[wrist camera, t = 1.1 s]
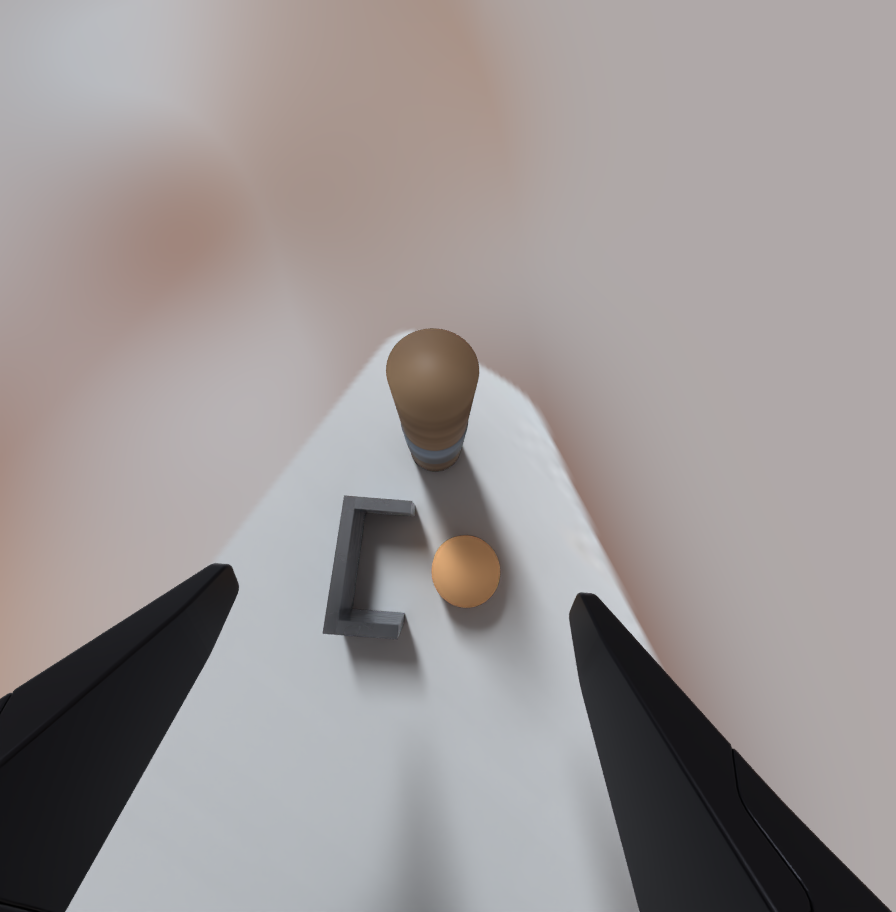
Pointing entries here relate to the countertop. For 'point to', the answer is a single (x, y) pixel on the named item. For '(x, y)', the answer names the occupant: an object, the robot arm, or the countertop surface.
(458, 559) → the tan rounded block
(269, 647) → the countertop surface
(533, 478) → the countertop surface
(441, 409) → the ball
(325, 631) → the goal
